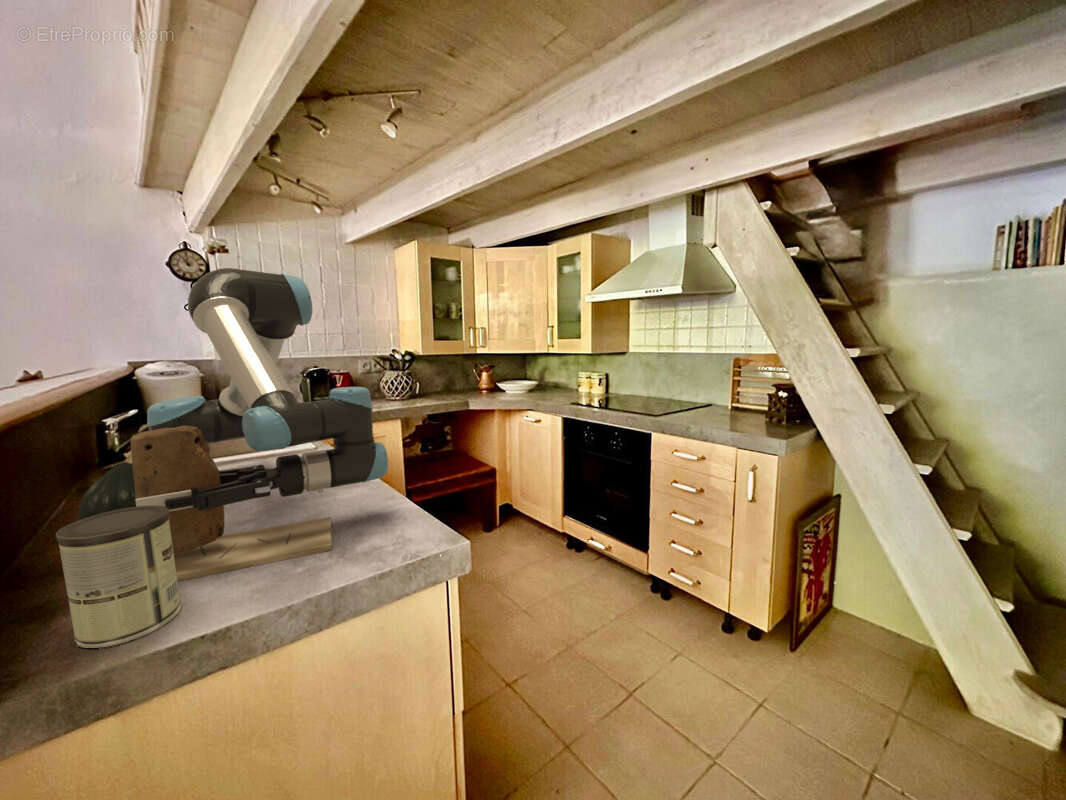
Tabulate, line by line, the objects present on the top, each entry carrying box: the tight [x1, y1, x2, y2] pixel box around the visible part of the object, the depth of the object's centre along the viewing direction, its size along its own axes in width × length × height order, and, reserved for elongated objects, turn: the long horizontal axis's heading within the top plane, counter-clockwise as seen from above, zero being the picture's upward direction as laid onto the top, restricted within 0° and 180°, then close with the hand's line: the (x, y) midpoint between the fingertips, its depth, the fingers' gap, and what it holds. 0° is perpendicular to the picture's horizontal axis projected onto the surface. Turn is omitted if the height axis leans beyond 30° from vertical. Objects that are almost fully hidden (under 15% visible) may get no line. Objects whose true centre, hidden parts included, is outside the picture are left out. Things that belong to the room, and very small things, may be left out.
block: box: [130, 426, 226, 555], centre depth 70 cm, size 11×8×20 cm
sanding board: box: [174, 516, 333, 582], centre depth 75 cm, size 14×28×1 cm, turn 116°
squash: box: [77, 461, 136, 520], centre depth 82 cm, size 14×15×15 cm
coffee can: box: [55, 505, 182, 647], centre depth 55 cm, size 10×10×14 cm
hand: (141, 499), depth 68 cm, fingers closed on block, 8 cm apart
